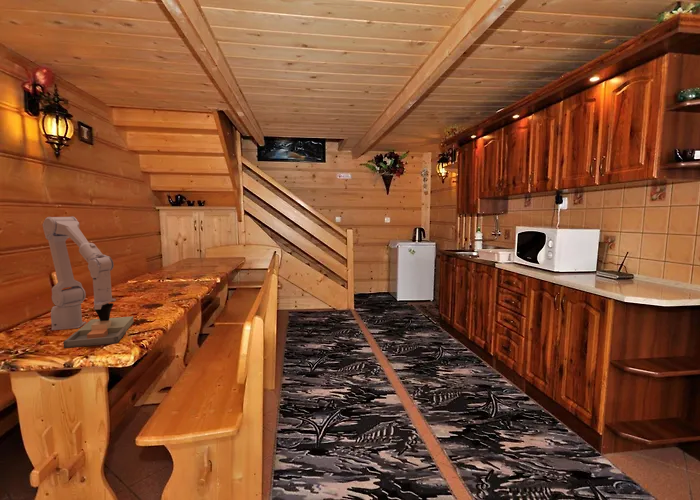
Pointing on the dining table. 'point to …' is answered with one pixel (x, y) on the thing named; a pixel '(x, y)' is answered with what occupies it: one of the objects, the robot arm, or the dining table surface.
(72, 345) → the box
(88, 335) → the terracotta tile
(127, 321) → the beige square slab
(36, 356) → the dining table surface
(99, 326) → the cream tile
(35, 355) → the dining table surface
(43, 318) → the dining table surface
